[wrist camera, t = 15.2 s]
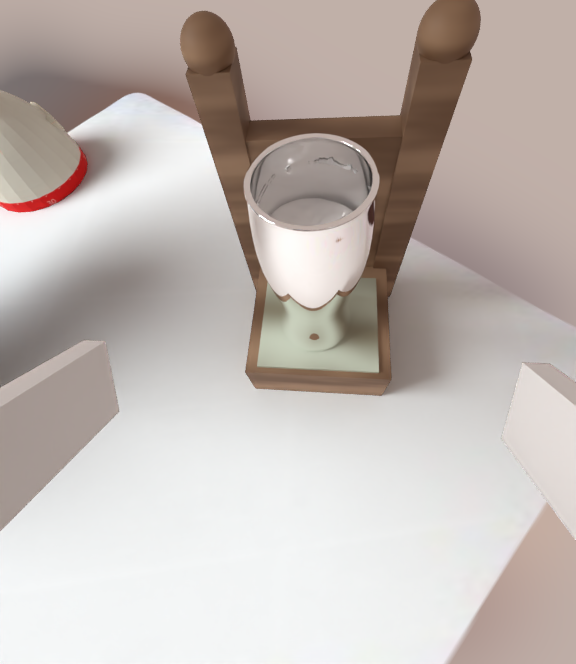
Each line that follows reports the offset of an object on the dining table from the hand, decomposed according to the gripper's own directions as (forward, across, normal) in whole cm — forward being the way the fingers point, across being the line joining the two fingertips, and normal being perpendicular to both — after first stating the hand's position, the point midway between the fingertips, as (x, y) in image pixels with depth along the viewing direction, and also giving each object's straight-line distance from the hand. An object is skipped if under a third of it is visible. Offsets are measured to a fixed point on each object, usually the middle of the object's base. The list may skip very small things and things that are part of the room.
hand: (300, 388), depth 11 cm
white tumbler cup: (+19, 0, -4) cm, 19 cm away
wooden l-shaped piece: (+24, 0, -7) cm, 25 cm away
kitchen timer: (+41, -41, +9) cm, 59 cm away
